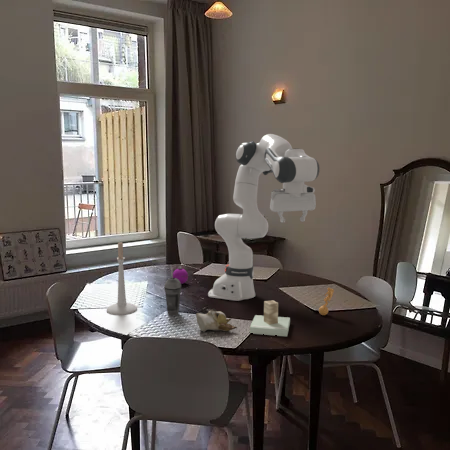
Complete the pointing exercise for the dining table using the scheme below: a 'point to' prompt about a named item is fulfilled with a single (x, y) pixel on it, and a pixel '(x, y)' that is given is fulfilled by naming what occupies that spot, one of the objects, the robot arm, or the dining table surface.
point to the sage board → (270, 326)
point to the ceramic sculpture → (213, 321)
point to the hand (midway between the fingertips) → (292, 221)
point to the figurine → (323, 309)
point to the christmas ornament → (180, 275)
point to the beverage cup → (172, 295)
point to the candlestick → (121, 290)
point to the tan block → (270, 312)
